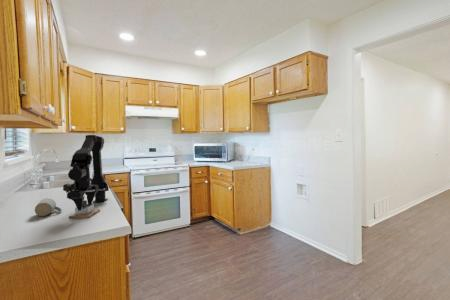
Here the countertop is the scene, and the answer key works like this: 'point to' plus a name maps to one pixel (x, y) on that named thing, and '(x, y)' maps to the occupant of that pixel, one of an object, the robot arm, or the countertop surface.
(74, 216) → the keeper
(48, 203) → the ceramic mug
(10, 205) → the countertop surface
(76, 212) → the grey square socket
